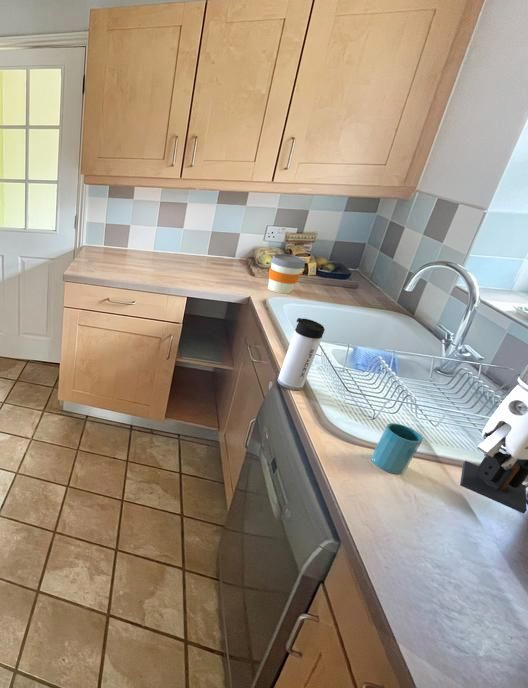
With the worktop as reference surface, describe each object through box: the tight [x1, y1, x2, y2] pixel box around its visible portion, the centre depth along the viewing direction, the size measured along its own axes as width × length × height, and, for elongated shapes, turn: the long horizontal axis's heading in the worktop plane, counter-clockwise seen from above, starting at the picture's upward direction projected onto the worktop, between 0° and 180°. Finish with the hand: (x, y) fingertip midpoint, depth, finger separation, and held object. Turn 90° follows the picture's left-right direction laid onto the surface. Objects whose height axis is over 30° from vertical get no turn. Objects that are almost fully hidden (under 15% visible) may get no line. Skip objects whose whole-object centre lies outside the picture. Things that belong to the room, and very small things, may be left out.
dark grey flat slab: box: [459, 460, 527, 514], centre depth 64 cm, size 7×7×5 cm
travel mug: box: [277, 317, 325, 391], centre depth 115 cm, size 6×7×20 cm
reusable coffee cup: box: [267, 253, 306, 294], centre depth 183 cm, size 13×13×15 cm
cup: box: [370, 422, 423, 475], centre depth 90 cm, size 6×6×9 cm
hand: (496, 480), depth 64 cm, fingers closed on dark grey flat slab, 2 cm apart
